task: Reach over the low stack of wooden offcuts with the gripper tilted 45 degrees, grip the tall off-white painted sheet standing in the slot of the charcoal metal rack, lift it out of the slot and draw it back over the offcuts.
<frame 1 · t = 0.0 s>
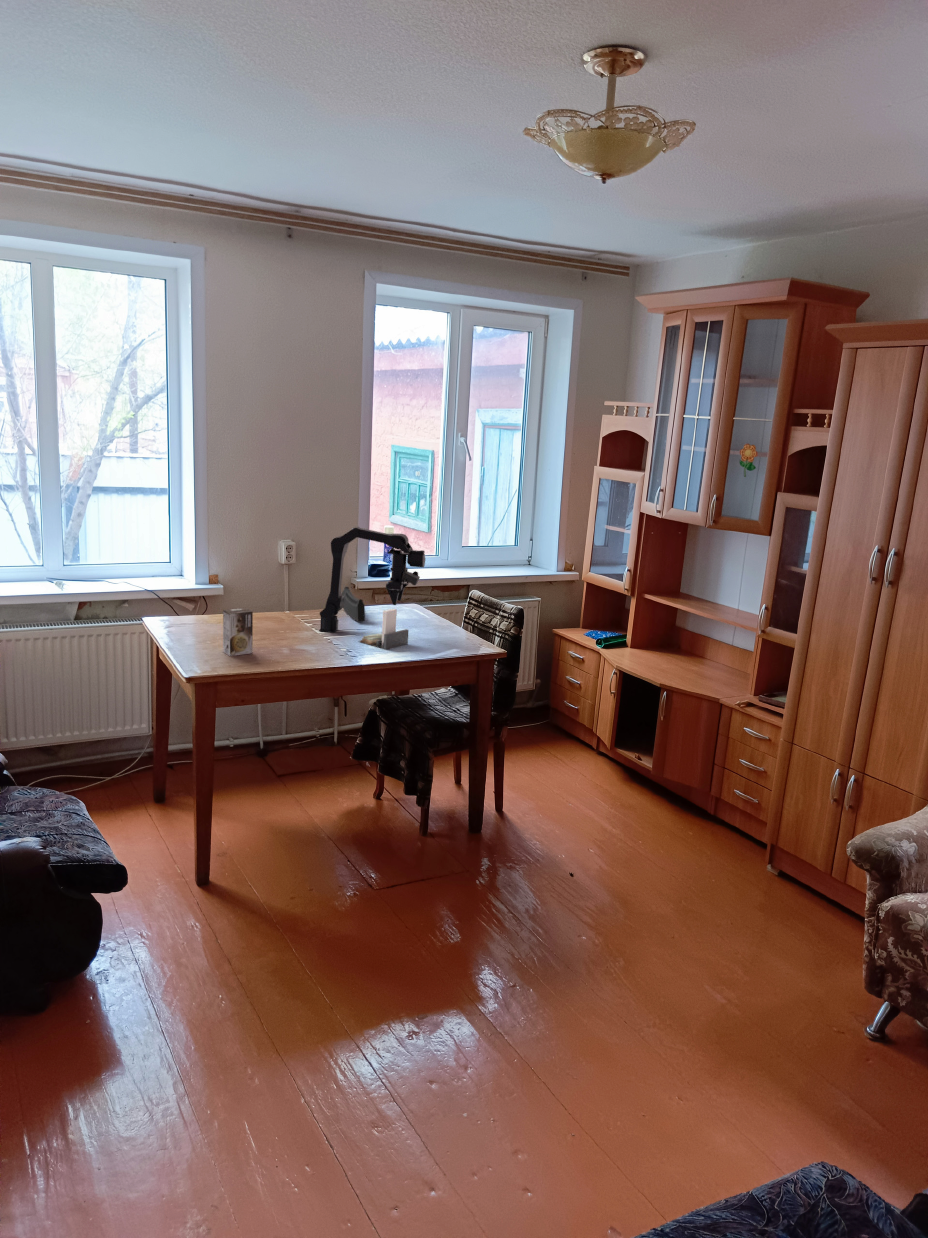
hand: (397, 602, 358), 15 cm above the table, tool pointing down, fingers open, 9 cm apart
coffee box: (237, 653, 323), on the table
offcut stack: (374, 638, 350), point 2 cm above the table
rack: (388, 647, 346), on the table
magazine: (352, 616, 394), on the table
tall sheet: (388, 644, 346), point 1 cm above the table, touching rack
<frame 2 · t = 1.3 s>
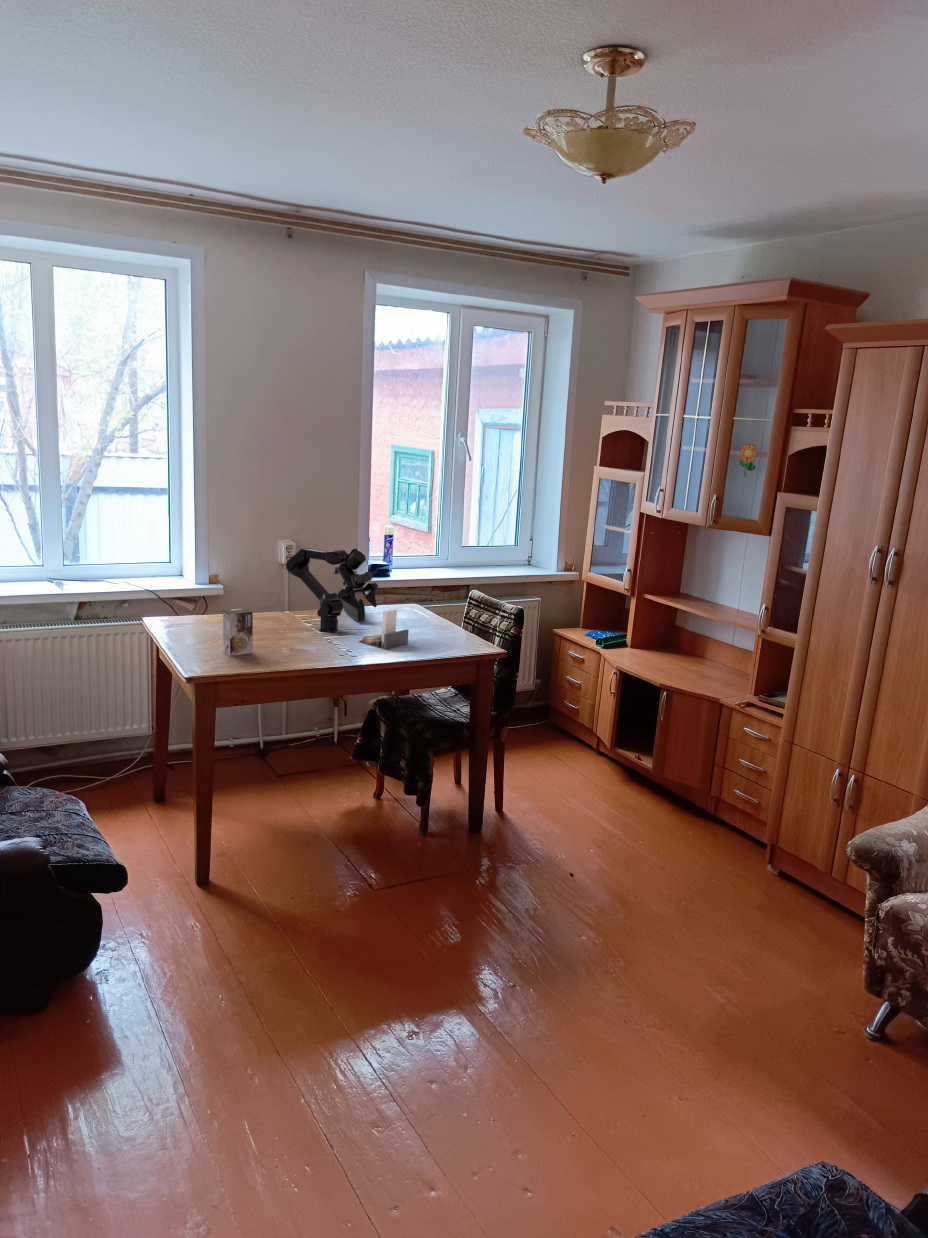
hand: (368, 608, 350), 14 cm above the table, tool tilted 45°, fingers open, 9 cm apart
nothing on the table moved.
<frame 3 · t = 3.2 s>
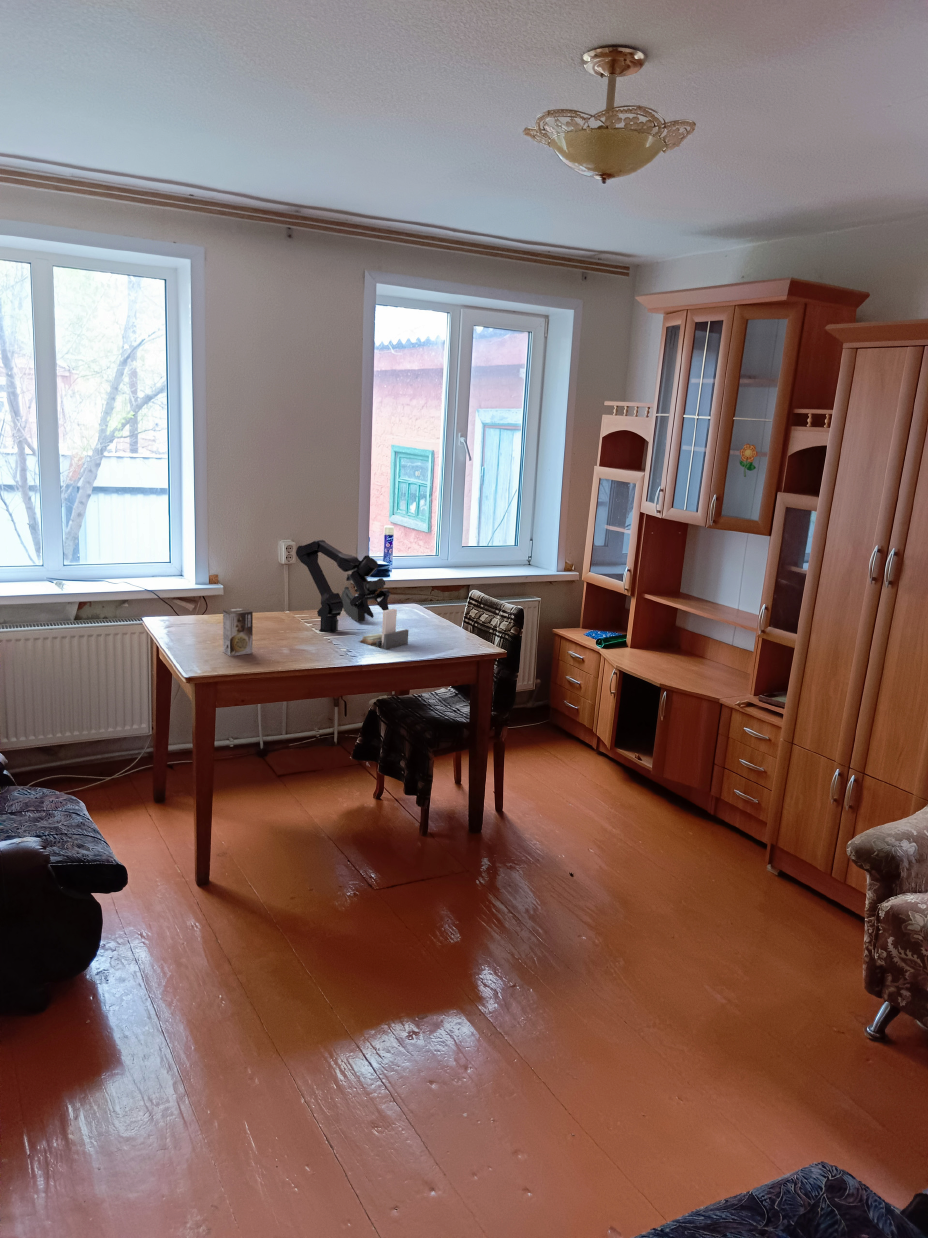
hand: (380, 615, 346), 12 cm above the table, tool tilted 45°, fingers open, 9 cm apart
nothing on the table moved.
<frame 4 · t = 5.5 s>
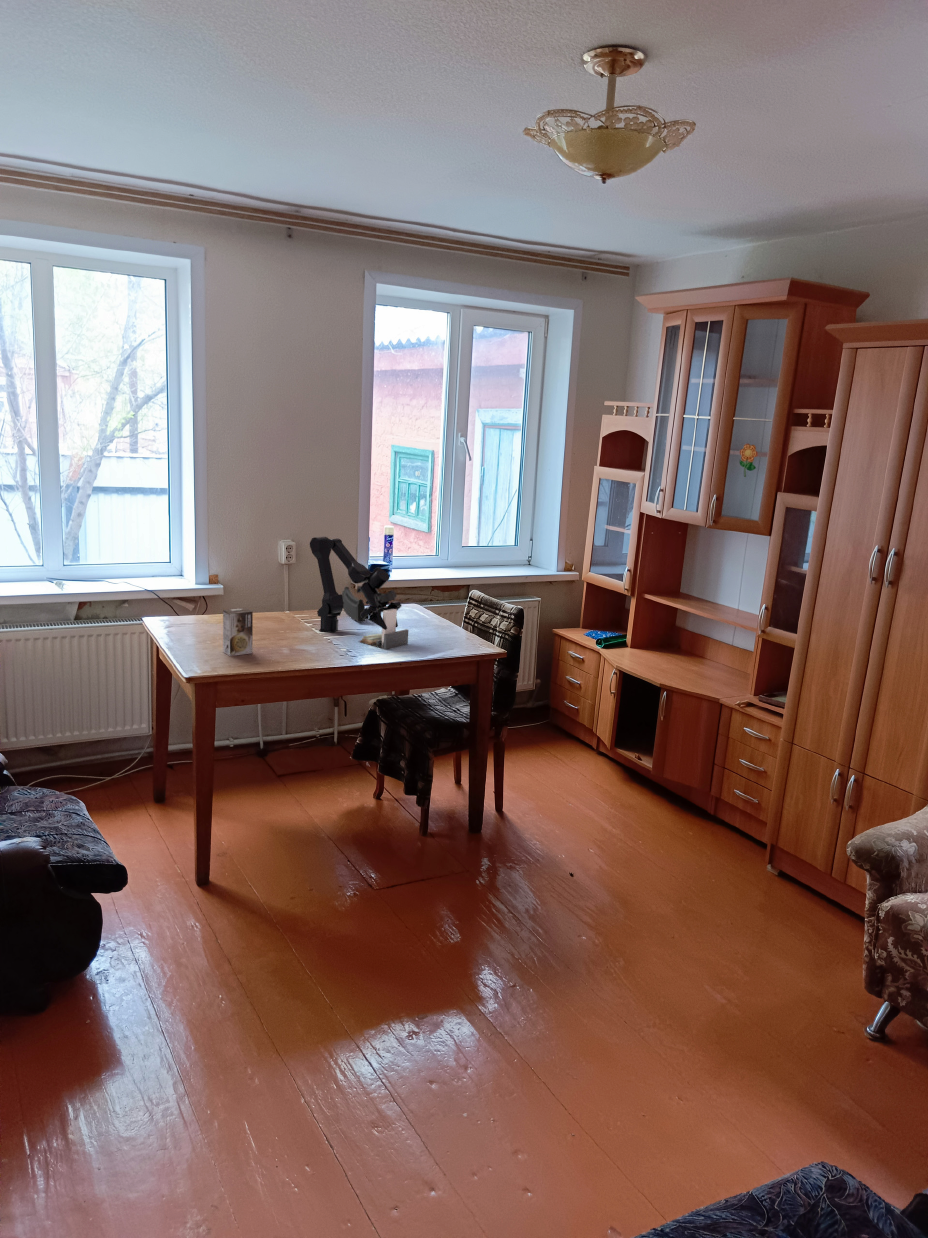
hand: (391, 628, 343), 8 cm above the table, tool tilted 45°, fingers closed on tall sheet, 6 cm apart
tall sheet: (388, 644, 346), point 1 cm above the table, touching gripper, rack
everything else where it was.
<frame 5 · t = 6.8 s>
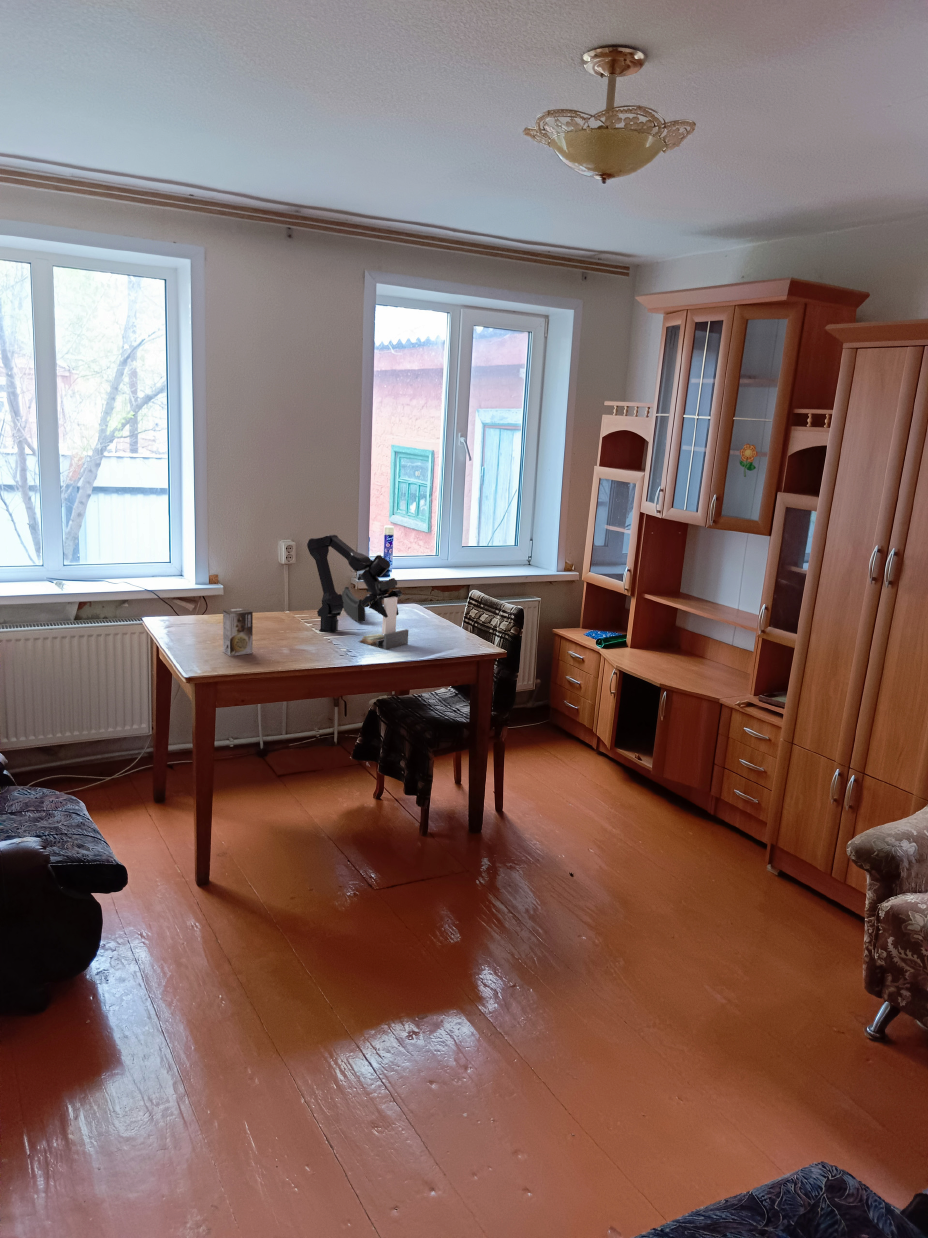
hand: (392, 615, 342), 13 cm above the table, tool tilted 45°, fingers closed on tall sheet, 6 cm apart
tall sheet: (388, 632, 345), point 6 cm above the table, touching gripper
everything else where it was.
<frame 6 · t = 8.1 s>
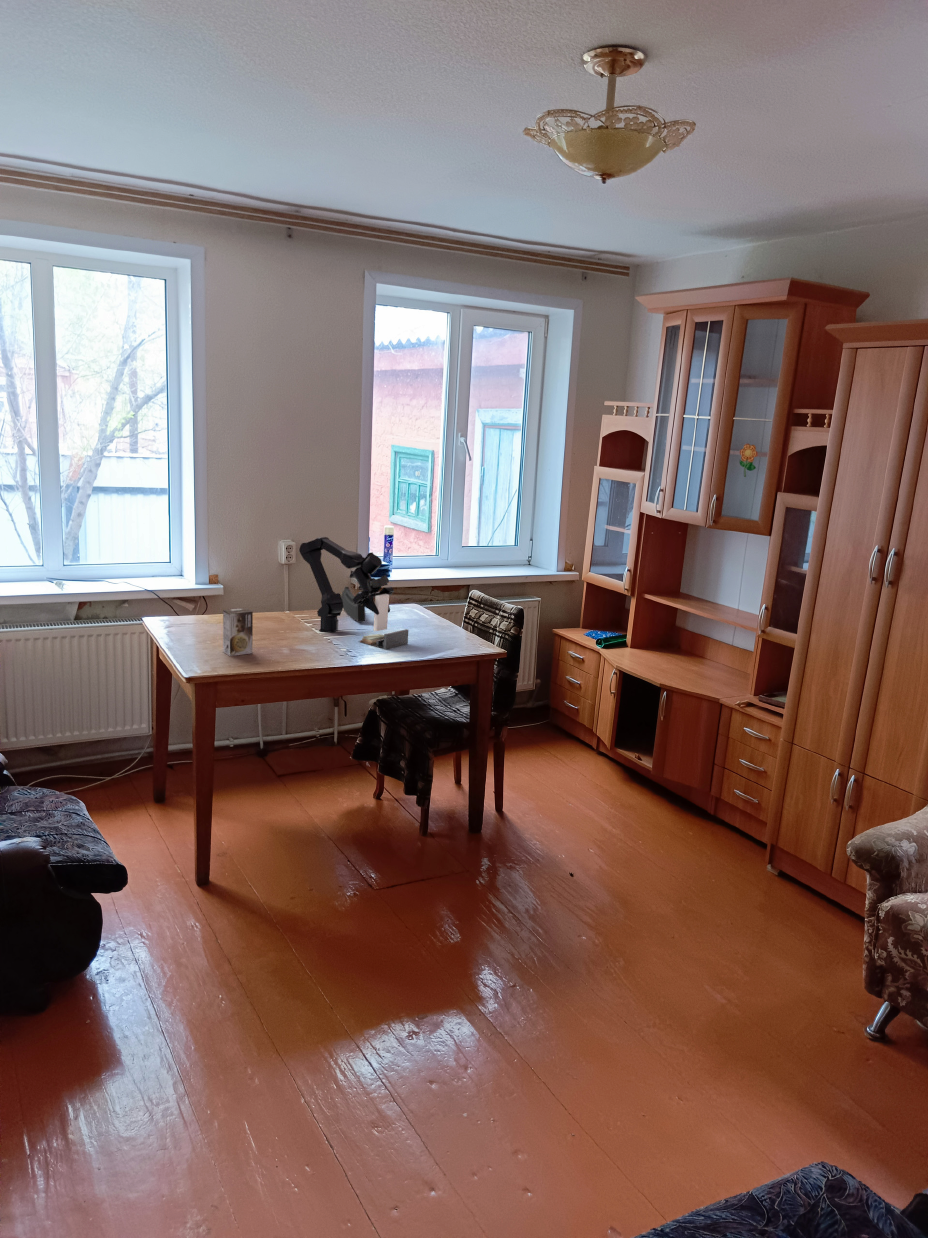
hand: (383, 613, 345), 13 cm above the table, tool tilted 45°, fingers closed on tall sheet, 6 cm apart
tall sheet: (380, 629, 347), point 6 cm above the table, touching gripper
everything else where it was.
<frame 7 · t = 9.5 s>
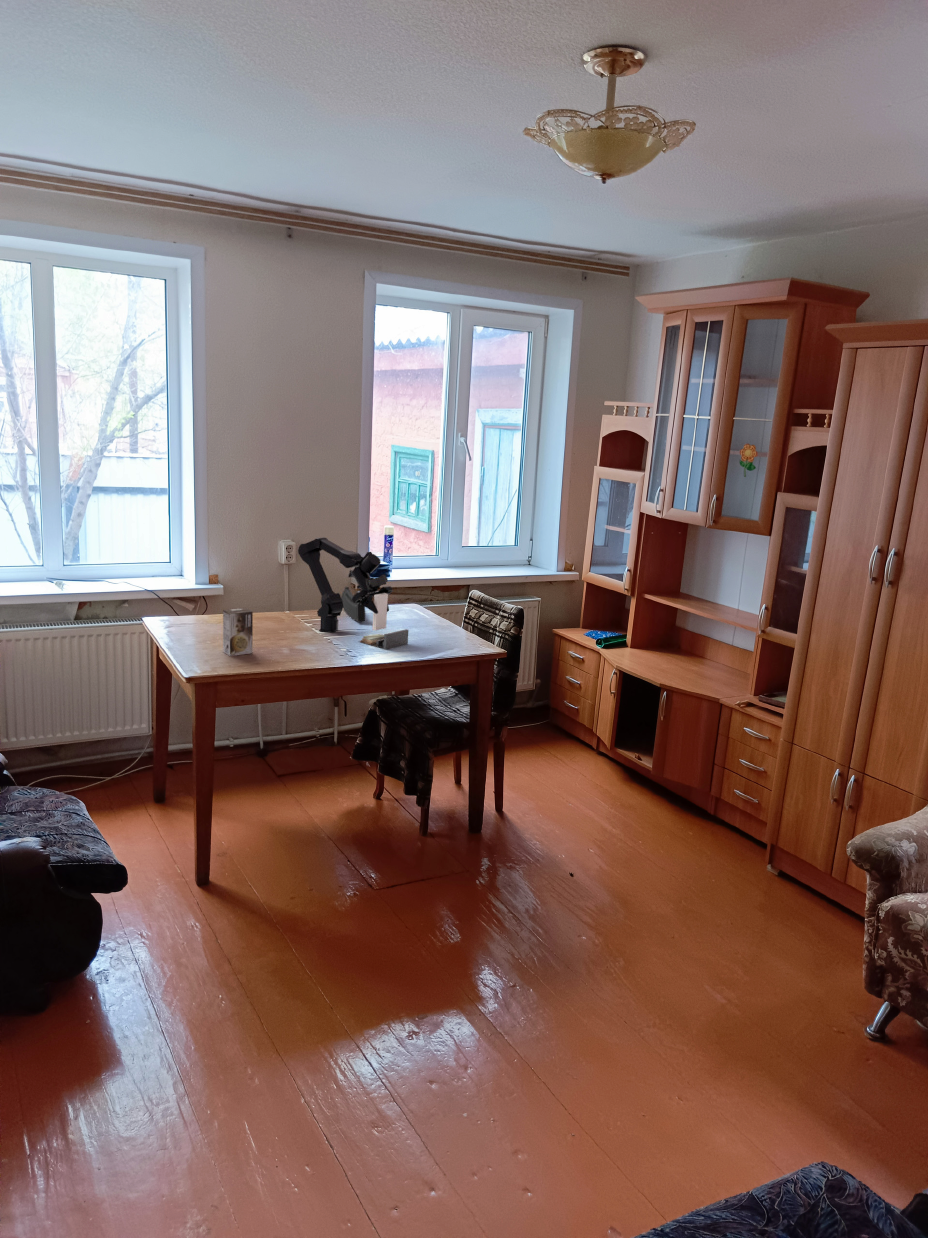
hand: (382, 612, 345), 13 cm above the table, tool tilted 45°, fingers closed on tall sheet, 6 cm apart
tall sheet: (379, 628, 347), point 6 cm above the table, touching gripper
everything else where it was.
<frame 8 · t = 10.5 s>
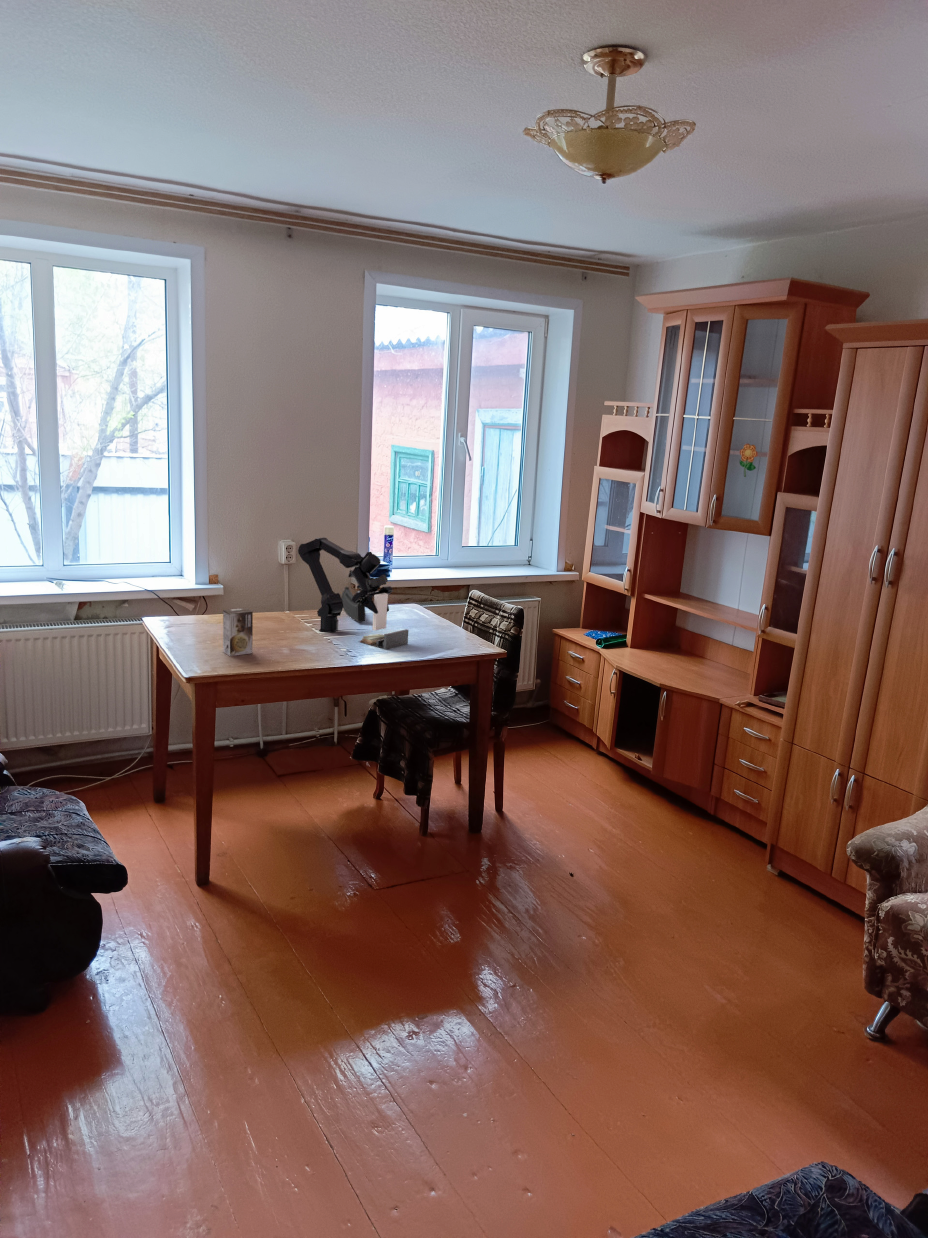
hand: (382, 612, 345), 13 cm above the table, tool tilted 45°, fingers closed on tall sheet, 6 cm apart
tall sheet: (379, 628, 347), point 6 cm above the table, touching gripper
everything else where it was.
at the end: the gripper is holding tall sheet; tall sheet point 6.4 cm above the table; tall sheet 0.4 cm from the target spot on the rack, point 6.4 cm above the rack's base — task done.
